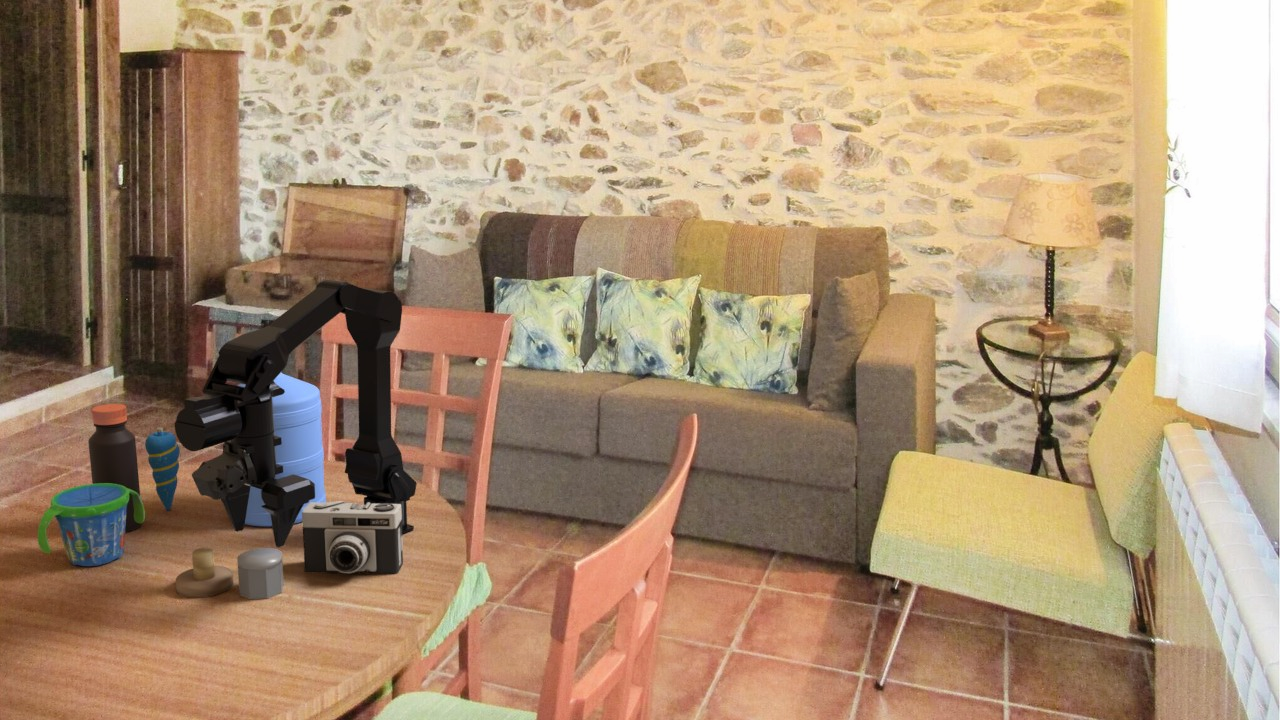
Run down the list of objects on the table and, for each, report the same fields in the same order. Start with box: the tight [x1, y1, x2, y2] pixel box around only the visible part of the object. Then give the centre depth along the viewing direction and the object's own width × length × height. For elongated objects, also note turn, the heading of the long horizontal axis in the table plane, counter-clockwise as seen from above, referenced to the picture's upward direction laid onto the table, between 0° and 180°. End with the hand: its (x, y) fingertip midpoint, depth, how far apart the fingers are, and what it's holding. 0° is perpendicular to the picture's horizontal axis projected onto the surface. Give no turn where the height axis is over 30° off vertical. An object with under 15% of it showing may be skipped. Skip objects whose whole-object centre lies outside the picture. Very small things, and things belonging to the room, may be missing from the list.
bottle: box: [87, 403, 143, 533], centre depth 177 cm, size 7×7×20 cm
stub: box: [175, 547, 234, 599], centre depth 158 cm, size 8×8×5 cm
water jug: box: [236, 372, 327, 528], centre depth 185 cm, size 16×16×28 cm
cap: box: [236, 547, 285, 600], centre depth 157 cm, size 6×6×5 cm
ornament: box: [144, 424, 181, 511], centre depth 186 cm, size 5×5×15 cm
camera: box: [301, 500, 404, 575], centre depth 163 cm, size 14×8×10 cm, turn 90°
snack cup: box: [37, 483, 146, 567], centre depth 166 cm, size 16×10×10 cm
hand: (259, 538), depth 156 cm, fingers open, 9 cm apart
